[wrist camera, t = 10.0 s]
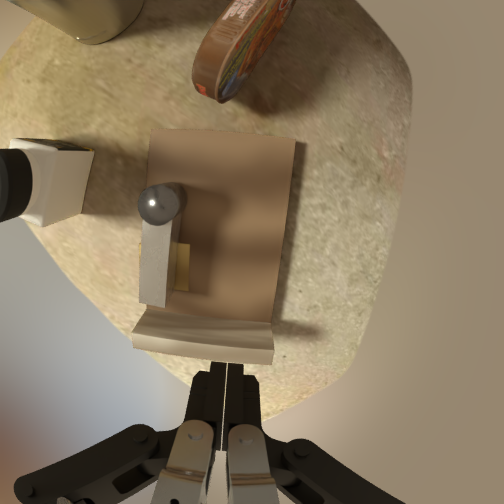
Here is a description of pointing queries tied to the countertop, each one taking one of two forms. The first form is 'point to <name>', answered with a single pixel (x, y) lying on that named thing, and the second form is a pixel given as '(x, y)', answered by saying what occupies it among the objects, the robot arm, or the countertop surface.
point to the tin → (236, 45)
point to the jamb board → (221, 243)
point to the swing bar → (159, 241)
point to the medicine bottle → (43, 180)
